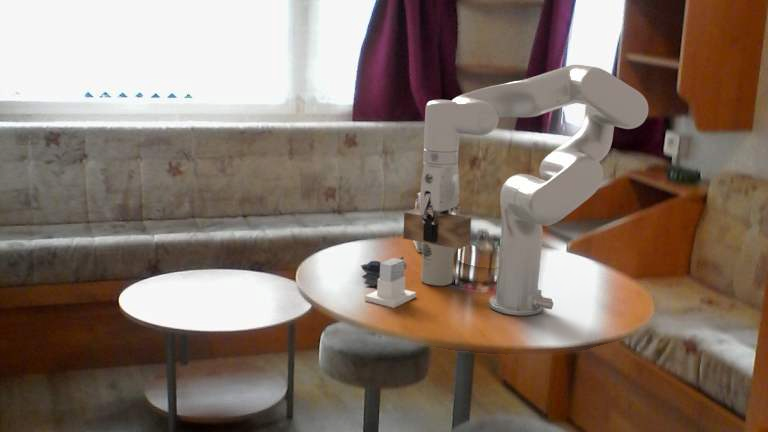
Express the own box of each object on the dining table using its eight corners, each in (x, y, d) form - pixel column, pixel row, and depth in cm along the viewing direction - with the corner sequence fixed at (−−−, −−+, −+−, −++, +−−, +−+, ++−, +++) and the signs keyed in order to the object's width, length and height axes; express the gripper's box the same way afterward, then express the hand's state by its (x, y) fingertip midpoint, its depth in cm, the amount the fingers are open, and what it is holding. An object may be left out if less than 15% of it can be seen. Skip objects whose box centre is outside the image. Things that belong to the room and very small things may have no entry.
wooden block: (469, 244, 192) (471, 217, 191) (459, 249, 188) (460, 222, 186) (414, 234, 199) (415, 208, 198) (403, 238, 195) (404, 212, 193)
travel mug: (446, 276, 227) (450, 209, 223) (456, 286, 219) (461, 216, 215) (416, 277, 225) (420, 209, 220) (426, 287, 217) (430, 217, 213)
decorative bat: (370, 243, 239) (406, 249, 238) (368, 257, 240) (404, 264, 239) (350, 274, 210) (391, 281, 209) (348, 290, 211) (389, 298, 210)
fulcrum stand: (415, 297, 209) (417, 260, 207) (393, 307, 201) (395, 269, 199) (387, 290, 213) (389, 254, 211) (364, 300, 205) (366, 263, 203)
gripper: (436, 165, 180) (432, 250, 184) (473, 154, 194) (468, 233, 198) (405, 160, 184) (402, 243, 188) (443, 150, 198) (439, 228, 202)
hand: (436, 237), depth 193 cm, fingers closed on wooden block, 5 cm apart
